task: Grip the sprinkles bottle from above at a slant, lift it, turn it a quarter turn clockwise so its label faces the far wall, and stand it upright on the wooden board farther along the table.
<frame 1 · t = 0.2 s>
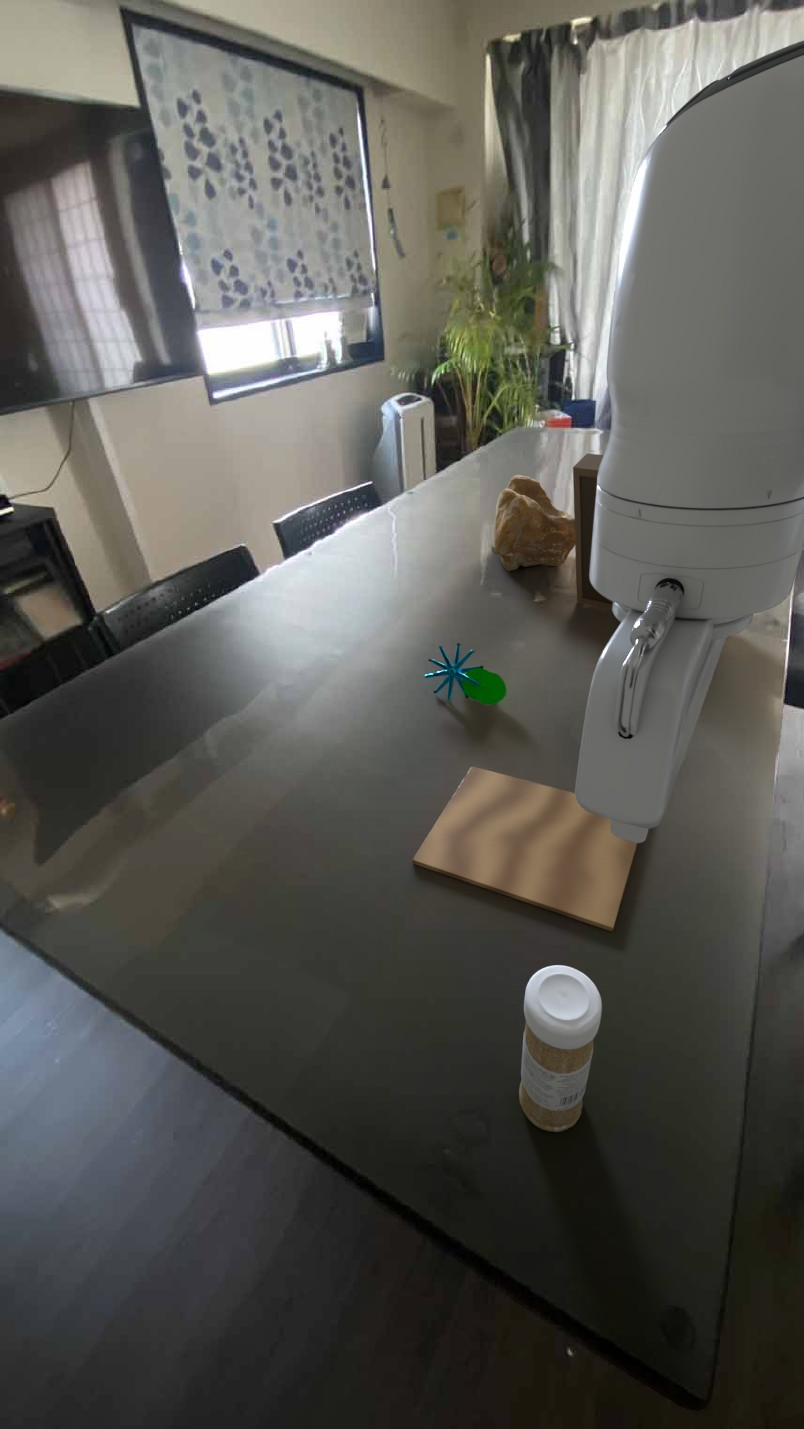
hand: (651, 779, 37), 25 cm above the table, tool pointing down, fingers open, 8 cm apart
wooden board: (531, 839, 67), on the table
photo frame: (629, 626, 103), on the table
rough brown rock: (533, 560, 128), on the table
sprinkles bottle: (549, 1101, 46), on the table
stick construction toy: (468, 691, 91), on the table
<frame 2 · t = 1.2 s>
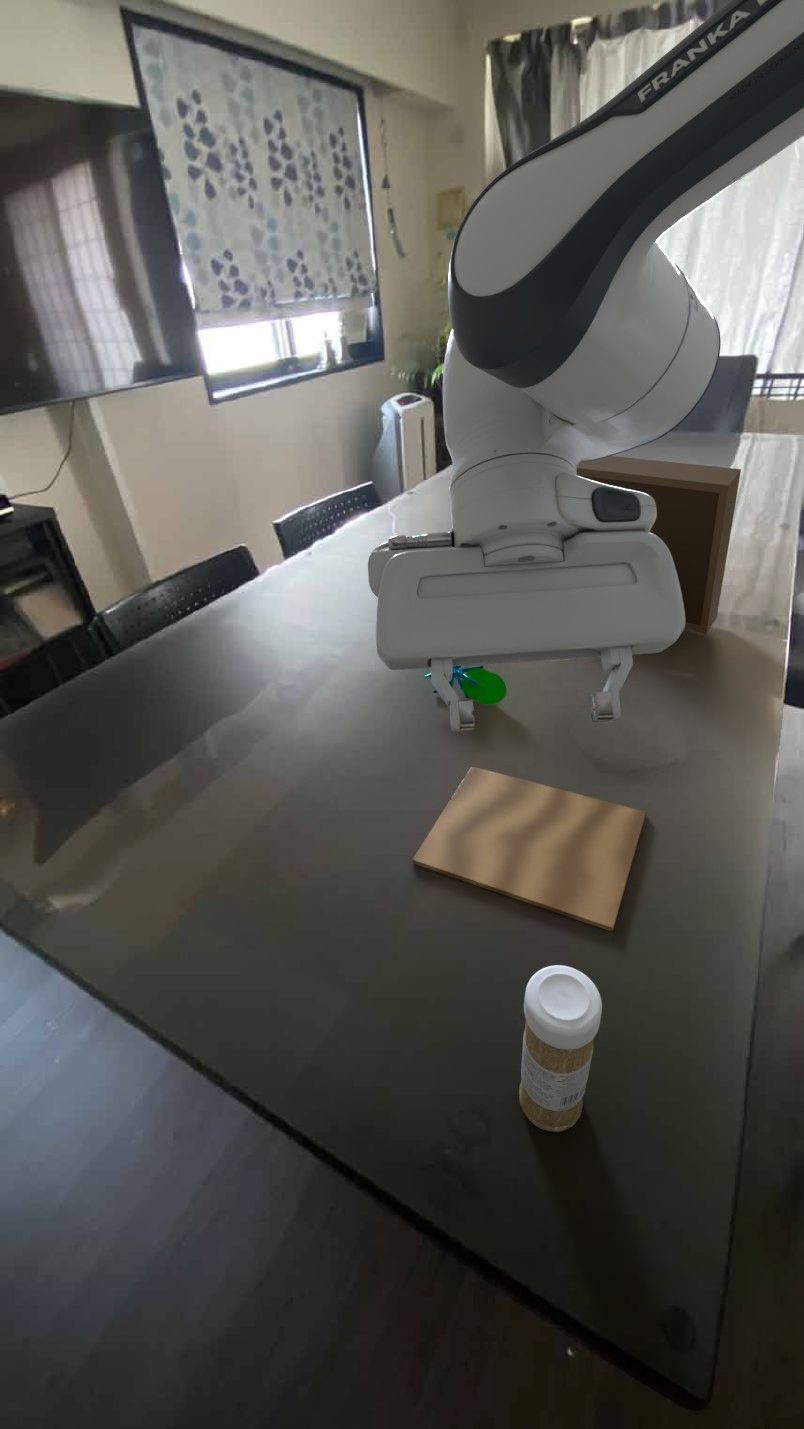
hand: (534, 725, 42), 25 cm above the table, tool tilted 45°, fingers open, 8 cm apart
nothing on the table moved.
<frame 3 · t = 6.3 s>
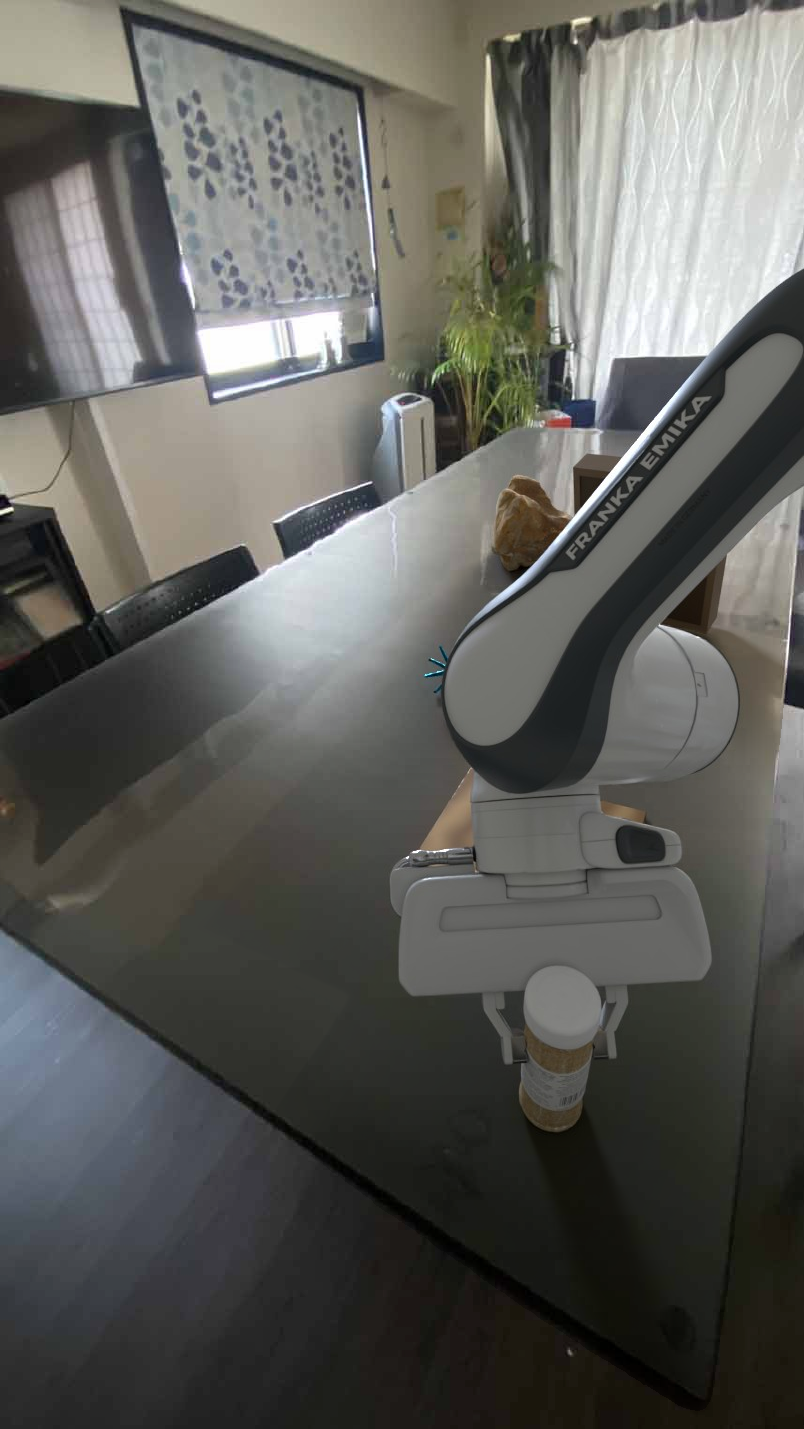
hand: (559, 1059, 42), 7 cm above the table, tool tilted 45°, fingers closed on sprinkles bottle, 4 cm apart
sprinkles bottle: (549, 1101, 46), on the table, touching gripper
everything else where it was.
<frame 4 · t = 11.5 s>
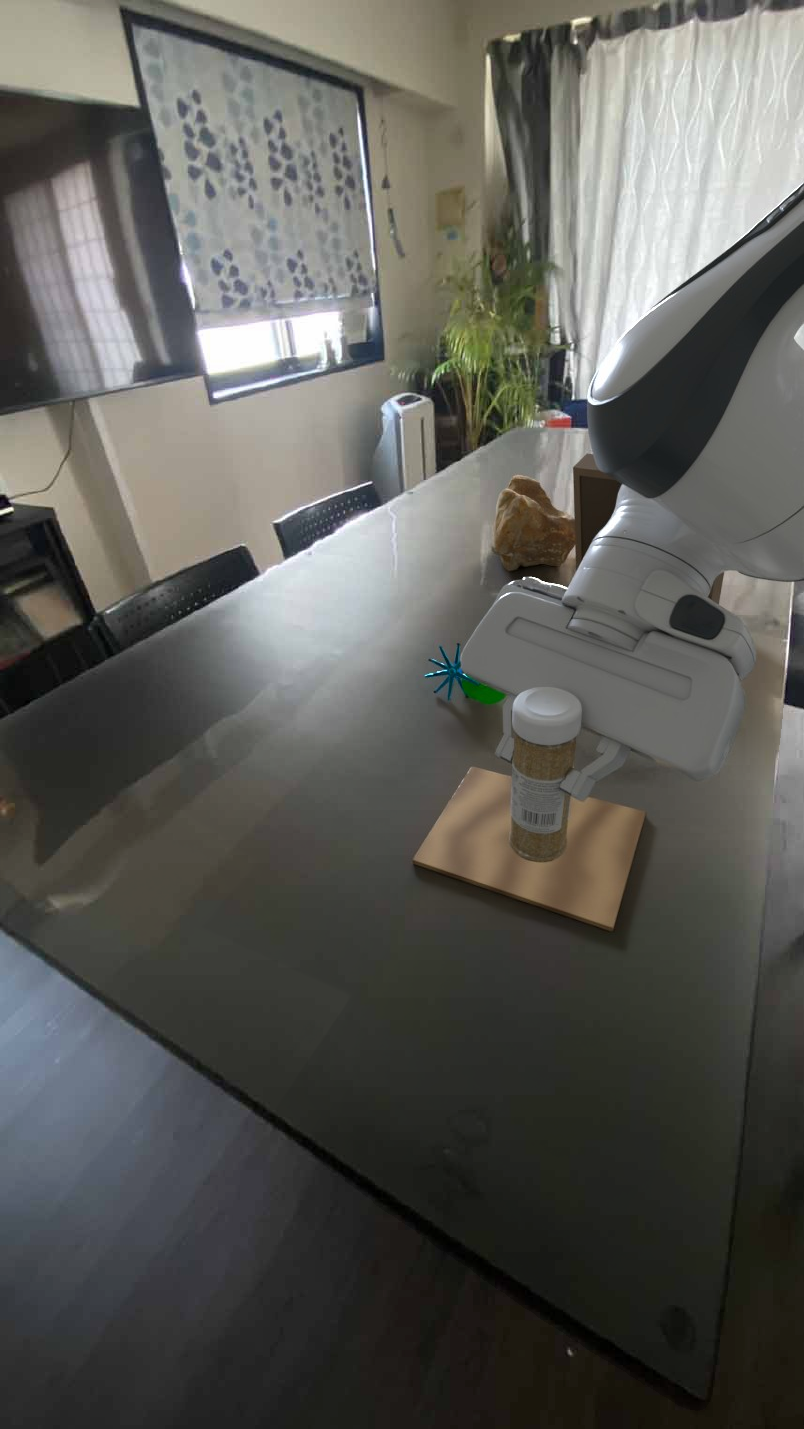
hand: (537, 778, 46), 19 cm above the table, tool tilted 45°, fingers closed on sprinkles bottle, 4 cm apart
sprinkles bottle: (536, 845, 50), point 12 cm above the table, touching gripper
everything else where it was.
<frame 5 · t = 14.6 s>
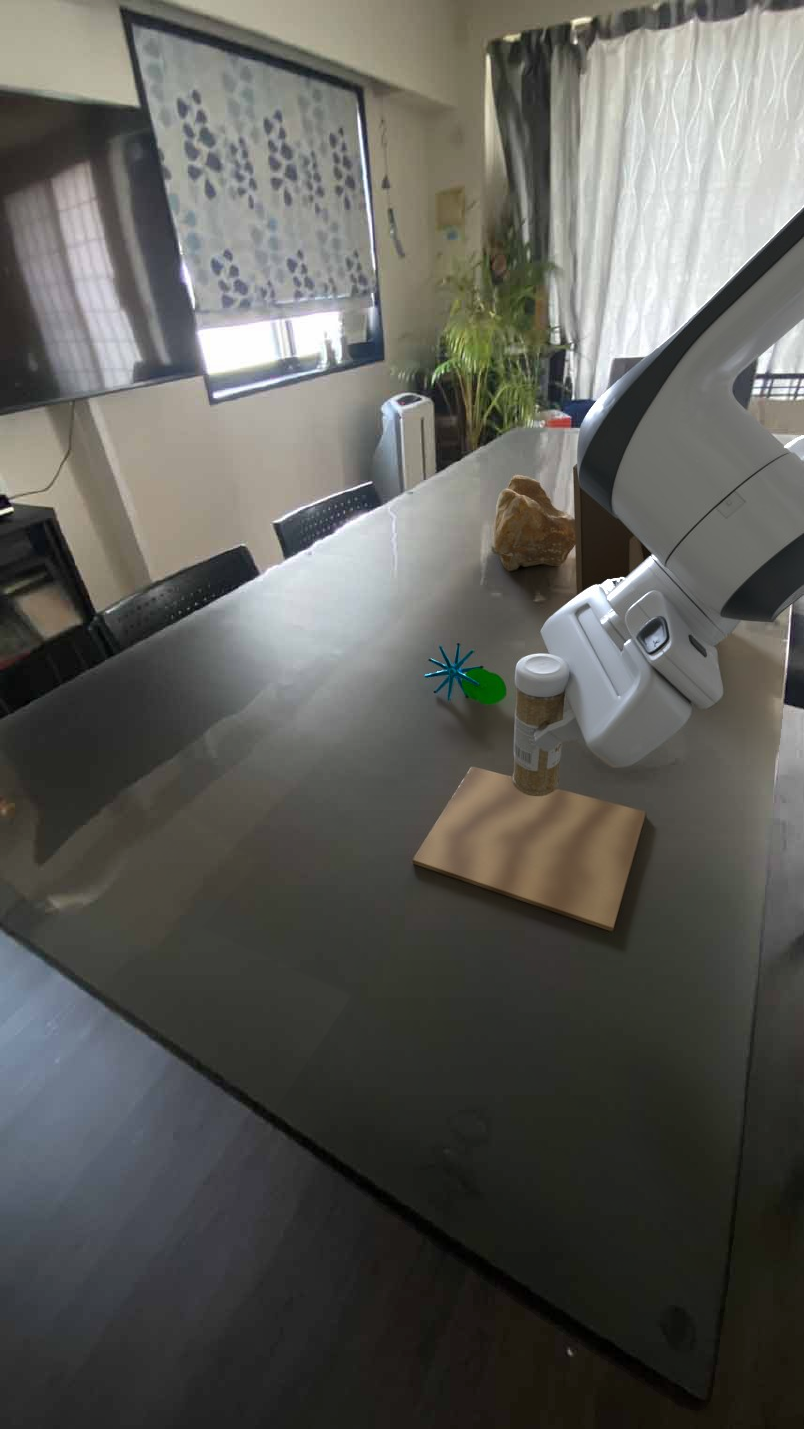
hand: (532, 724, 58), 15 cm above the table, tool tilted 45°, fingers closed on sprinkles bottle, 4 cm apart
sprinkles bottle: (534, 783, 63), point 8 cm above the table, touching gripper
everything else where it was.
when the fingers open (8 cm above the table, at t = 17.0 s): sprinkles bottle stays where it is, resting on wooden board.
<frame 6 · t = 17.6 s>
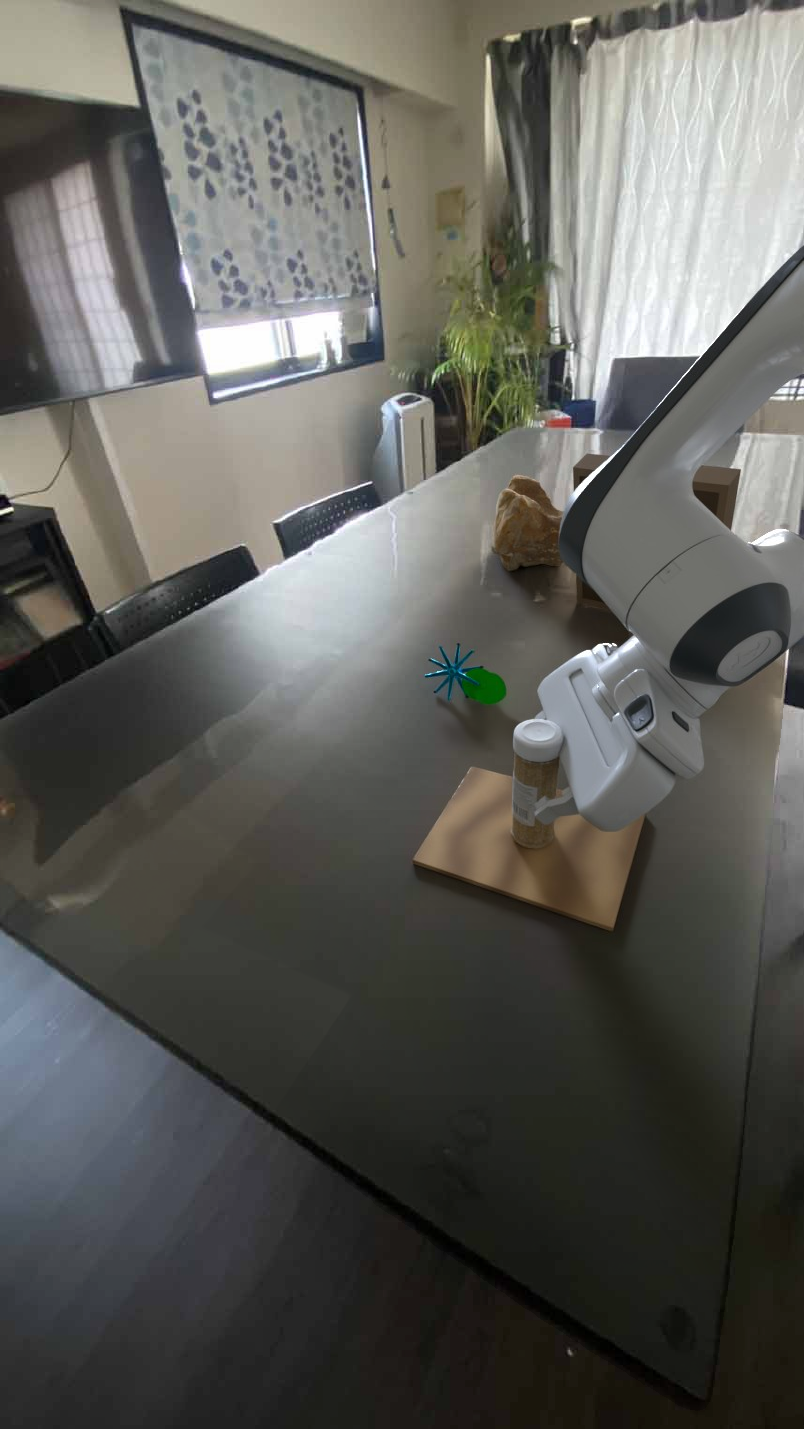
hand: (529, 782, 62), 8 cm above the table, tool tilted 45°, fingers open, 8 cm apart
sprinkles bottle: (531, 835, 67), resting on wooden board
everything else where it was.
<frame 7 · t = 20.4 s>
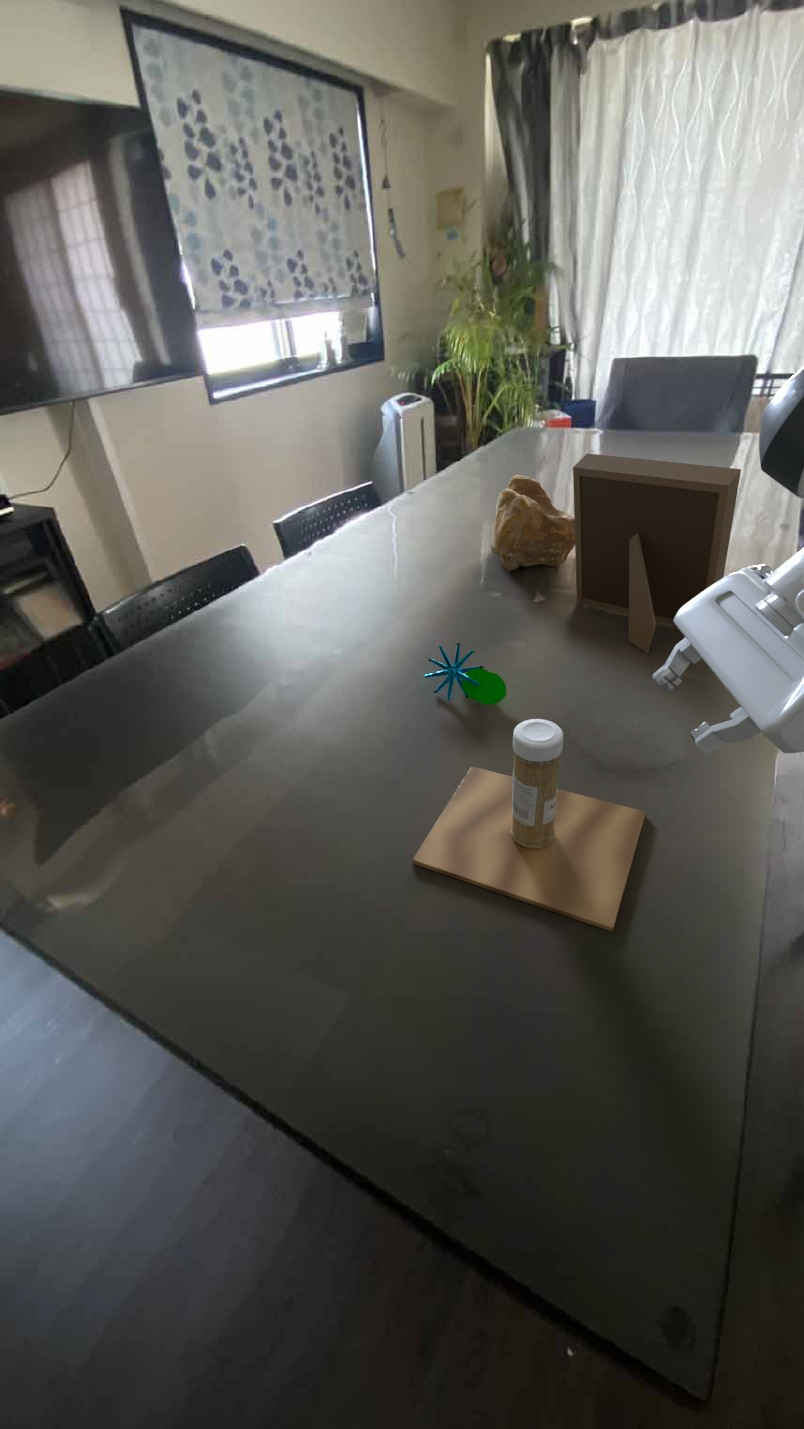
hand: (676, 712, 58), 15 cm above the table, tool tilted 45°, fingers open, 8 cm apart
nothing on the table moved.
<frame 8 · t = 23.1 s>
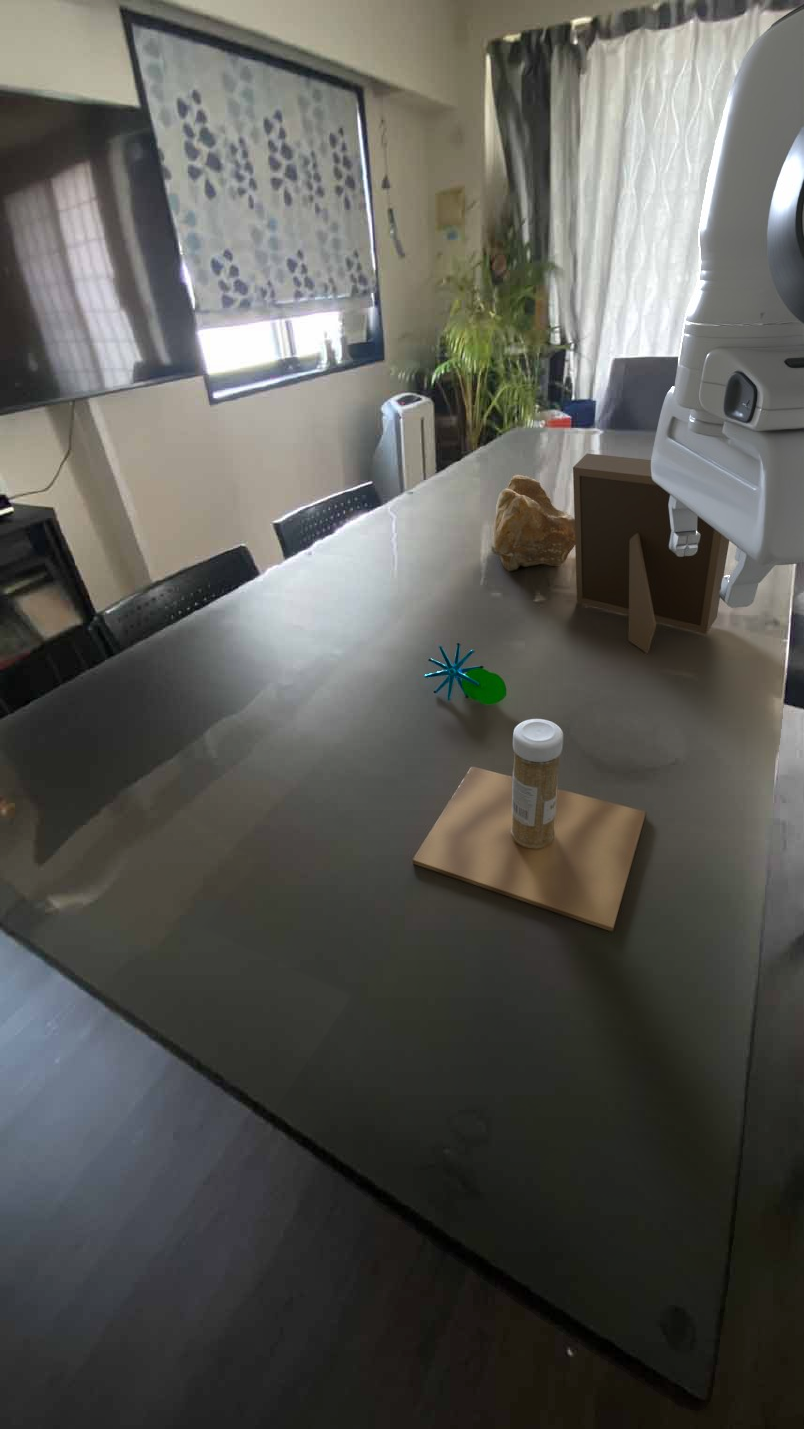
hand: (706, 576, 48), 29 cm above the table, tool pointing down, fingers open, 8 cm apart
nothing on the table moved.
at the end: sprinkles bottle inside the target area on the wooden board (0.1 cm from its centre), point 0.4 cm above the wooden board's base; sprinkles bottle tilted 0°; the gripper is holding nothing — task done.
